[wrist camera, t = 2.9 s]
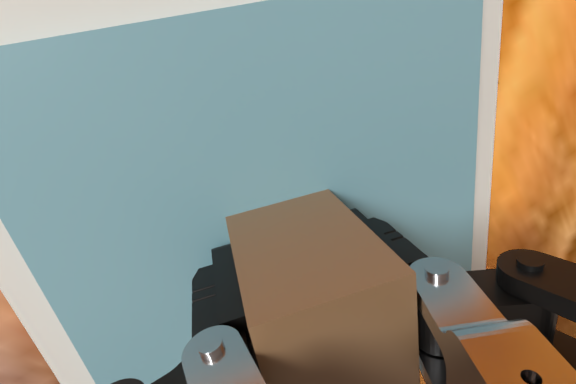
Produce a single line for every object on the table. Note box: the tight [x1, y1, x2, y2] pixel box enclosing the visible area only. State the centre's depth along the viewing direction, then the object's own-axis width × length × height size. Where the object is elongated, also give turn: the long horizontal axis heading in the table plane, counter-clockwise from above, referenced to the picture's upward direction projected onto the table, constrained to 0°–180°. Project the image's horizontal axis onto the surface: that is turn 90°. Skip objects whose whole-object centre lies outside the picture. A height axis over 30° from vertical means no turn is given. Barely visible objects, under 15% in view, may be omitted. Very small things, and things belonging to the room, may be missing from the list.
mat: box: [0, 0, 503, 384], centre depth 13 cm, size 18×18×1 cm
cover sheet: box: [0, 0, 483, 384], centre depth 10 cm, size 15×15×6 cm
